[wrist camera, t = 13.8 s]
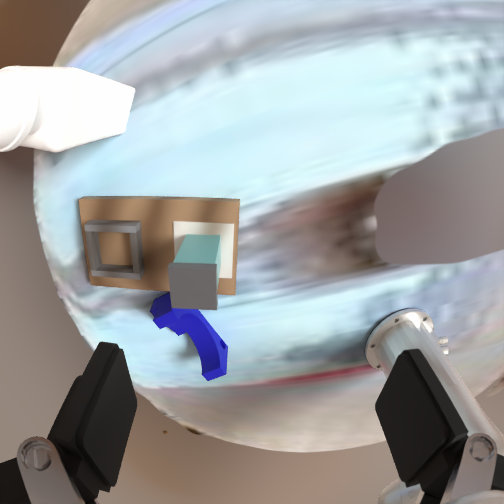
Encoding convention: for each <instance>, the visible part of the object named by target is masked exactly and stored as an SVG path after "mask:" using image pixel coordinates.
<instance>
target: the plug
mask: <svg viewBox="0 0 504 504" xmlns="http://www.w3.org/2000/svg"><path fill="white" fill-rule="evenodd" d="M220 268H221V235H197V234H186V236H185V238H184V240H183V242H182V244H181V247H180V249H179V251H178V253H177V255H176V257H175V259H174V262H173V263H169V265H168V277H169V287H170V297H171V306H172V308H179V309H202V310H217V305H218V299H217V289H218V282H219V275H220Z"/></svg>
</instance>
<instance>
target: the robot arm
mask: <svg viewBox="0 0 504 504" xmlns="http://www.w3.org/2000/svg"><path fill="white" fill-rule="evenodd" d="M447 343H448V337H447V336H444V337H437V336H436V335H435V333H434V324H433V321H432V319H431V318H430V316H429V315H428V314H427V313H426V312H424V311H422V310H420V309H405V310H401V311H399V312H396V313H394V314H392V315H391V316H389V317H387V318H386V319H385V320H383V321H382V322H381V323H380V324H379V325H378V326H377V327H376V328H375V329H374V330H373V332H372V333H371V335H370V336H369V338H368V340H367V343H366V347H365V355H366V358H367V360H368V362H369V364H370V365H371V366H372V367H373V368H375V369H377V370H381V371H383V372H384V374H385V376H386V378H387V381H386V383H385V385H384V387H383V389H382V391H381V393H380V395H379V397H378V399H377V401H376V404H375V410H376V413H377V416H378V418H379V421H380V424H381V426H382V429H383V432H384V434H385V437H386V440H387V443H388V445H389V448H390V451H391V454H392V457H393V460H394V462H395V465H396V468H397V471H398V474H399V477H400V478H399V479H397V480H396V481H394V482H392V483H391V484H389V485H388V486H386V487H385V488H384V489H383V490H382V492H381V493H380V495H379V498H378V504H504V436H503V435H502V434H501V432H500V431H499V430H498V429H497V428H496V427H495V425H494V424H493V423H492V422H491V420H490V419H489V418H488V417H487V415H486V414H485V413H484V411H483V410H482V409H481V407H480V405H479V404H478V403H477V401H476V400H475V398H474V397H473V395H472V393H471V392H470V390H469V389H468V387H467V386H466V384H465V383H464V381H463V380H462V378H461V377H460V375H459V374H458V372H457V371H456V369H455V368H454V366H453V365H452V363H451V362H450V360H449V359H448V357H447V355H448V347H447V346H439V345H443V344H447ZM136 409H137V399H136V395H135V392H134V388H133V385H132V381H131V378H130V374H129V370H128V367H127V363H126V359H125V355H124V351H123V349H120V348H119V347H118V345H117V344H115V343H108V342H100V343H99V344H98V346H97V348H96V350H95V351H94V353H93V355H92V357H91V359H90V361H89V363H88V365H87V367H86V369H85V371H84V373H83V375H82V376H78V377H77V378H76V379H75V381H74V383H73V385H72V387H71V389H70V391H69V393H68V395H67V397H66V399H65V401H64V403H63V405H62V407H61V409H60V411H59V413H58V415H57V417H56V419H55V422H54V424H53V426H52V428H51V430H50V433H49V435H48V437H47V439H45V438H43V437H38V436H36V437H30V438H28V439H26V440H25V441H24V442H23V443H21V444H20V446H19V448H18V451H17V457H16V458H14V459H11V460H8V461H5V462H2V463H0V504H99V503H98V501H97V499H96V498H97V497H98V493H99V490H102V491H106V492H110V488H111V486H113V487H114V486H115V484H116V482H117V479H118V474H119V470H120V467H121V462H122V459H123V455H124V452H125V448H126V444H127V440H128V437H129V433H130V430H131V426H132V423H133V419H134V416H135V412H136Z"/></svg>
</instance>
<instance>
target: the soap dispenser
mask: <svg viewBox="0 0 504 504" xmlns="http://www.w3.org/2000/svg"><path fill="white" fill-rule="evenodd" d="M134 94H135V88H133V87H130V86H127V85H124V84H122V83H119V82H116V81H113V80H110V79H108V78H105V77H102V76H99V75H96V74H93V73H90V72H87V71H84V70H81V69H78V68H73V67H33V66H30V67H29V66H23V67H22V66H10V67H5V68H2V69H1V70H0V152H5V151H10V150H13V149H15V148H16V147H18V146H24V147H30V148H35V149H40V150H45V151H50V152H61V151H64V150H67V149H70V148H73V147H77V146H80V145H83V144H87V143H90V142H94V141H97V140H101V139H104V138H108V137H112V136H116V135H120V134H123V133H124V132H125V129H126V125H127V121H128V117H129V113H130V109H131V105H132V101H133V97H134Z"/></svg>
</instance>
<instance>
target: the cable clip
mask: <svg viewBox="0 0 504 504" xmlns="http://www.w3.org/2000/svg"><path fill="white" fill-rule="evenodd" d="M150 312H151V313H152V315H153V316H154V318H153V321H154V323H155V324H156V325H157V326H158V327H159V328H160V329H162V328H164V327H168V328H170V329H171V330H173V331H174V332H175V333H176V334H177V335H178V336H179V335H181V334H184V333H186V332H187V333H188V334H189V336H190V337H191V339H192V340H193V342H194V344H195V346H196V348H197V350H198V353H199V356H200V360H201V365H202V375H203V376H204V378H205V379H206V380H207V381H210V380H212V379H215V378H218V377H220V376H223V375H226V371H227V353H228V346H227V345H226V344H225V342H224V341H223V340H222V339H221V338H220V336H219V335H218V334H217V333H216V331H215V330H214V329H213V328H212V326H211V325H210V324H209V323H208V321H207V320H206V319H205V318H204V316H203V315H202V314H201V312H200V311H199V310H198V309H179V308H172V306H171V297H170V292H168V293H166V294H164V295H163V296H161V297H159V298H157V299H155V300H154V302H153V305H152V307H151V309H150Z"/></svg>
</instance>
